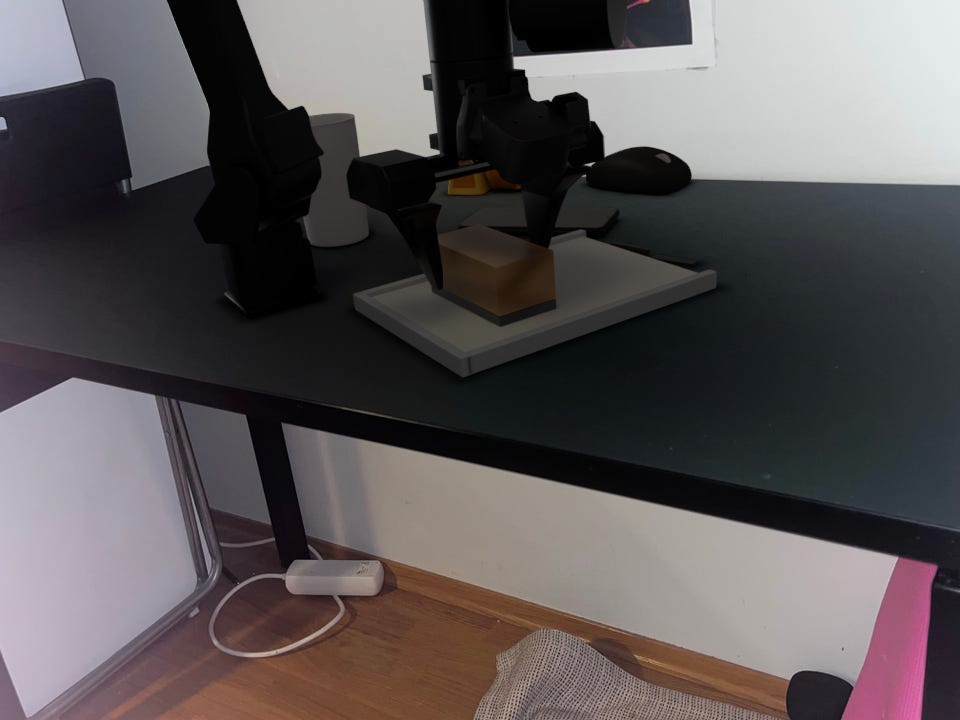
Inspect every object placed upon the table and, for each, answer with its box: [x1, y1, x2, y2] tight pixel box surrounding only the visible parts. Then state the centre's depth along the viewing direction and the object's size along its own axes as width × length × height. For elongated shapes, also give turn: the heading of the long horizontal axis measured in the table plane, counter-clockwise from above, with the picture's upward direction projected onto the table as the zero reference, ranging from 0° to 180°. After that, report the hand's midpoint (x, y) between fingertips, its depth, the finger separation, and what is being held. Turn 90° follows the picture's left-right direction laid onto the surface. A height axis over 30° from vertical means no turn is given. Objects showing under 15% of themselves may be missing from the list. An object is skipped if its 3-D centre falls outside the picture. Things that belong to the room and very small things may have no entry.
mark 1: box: [610, 241, 651, 258], centre depth 76 cm, size 1×4×1 cm
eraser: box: [431, 224, 556, 327], centre depth 66 cm, size 5×10×4 cm, turn 32°
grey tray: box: [352, 230, 718, 379], centre depth 69 cm, size 23×17×1 cm
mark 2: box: [650, 253, 699, 268], centre depth 74 cm, size 1×4×1 cm, turn 49°
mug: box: [303, 112, 370, 248], centre depth 88 cm, size 10×7×12 cm, turn 59°
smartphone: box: [457, 206, 620, 236], centre depth 87 cm, size 7×1×15 cm
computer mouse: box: [585, 145, 693, 194], centre depth 98 cm, size 8×12×4 cm, turn 50°
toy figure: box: [447, 160, 521, 196], centre depth 101 cm, size 5×6×12 cm
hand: (490, 273), depth 66 cm, fingers open, 9 cm apart
